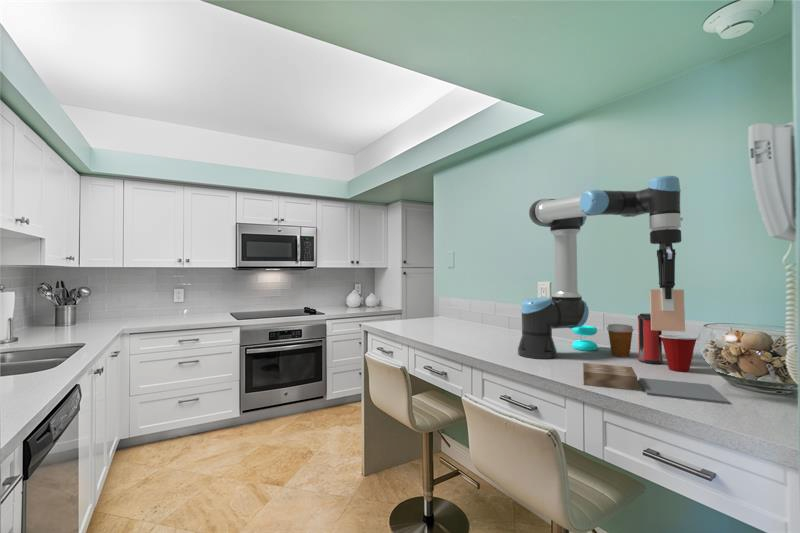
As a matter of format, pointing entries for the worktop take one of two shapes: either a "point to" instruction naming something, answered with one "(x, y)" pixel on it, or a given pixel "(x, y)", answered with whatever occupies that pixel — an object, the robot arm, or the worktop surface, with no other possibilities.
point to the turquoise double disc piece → (585, 344)
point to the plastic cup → (678, 351)
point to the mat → (682, 390)
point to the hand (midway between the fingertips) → (667, 310)
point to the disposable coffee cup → (620, 339)
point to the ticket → (667, 312)
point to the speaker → (649, 341)
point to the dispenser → (609, 376)
